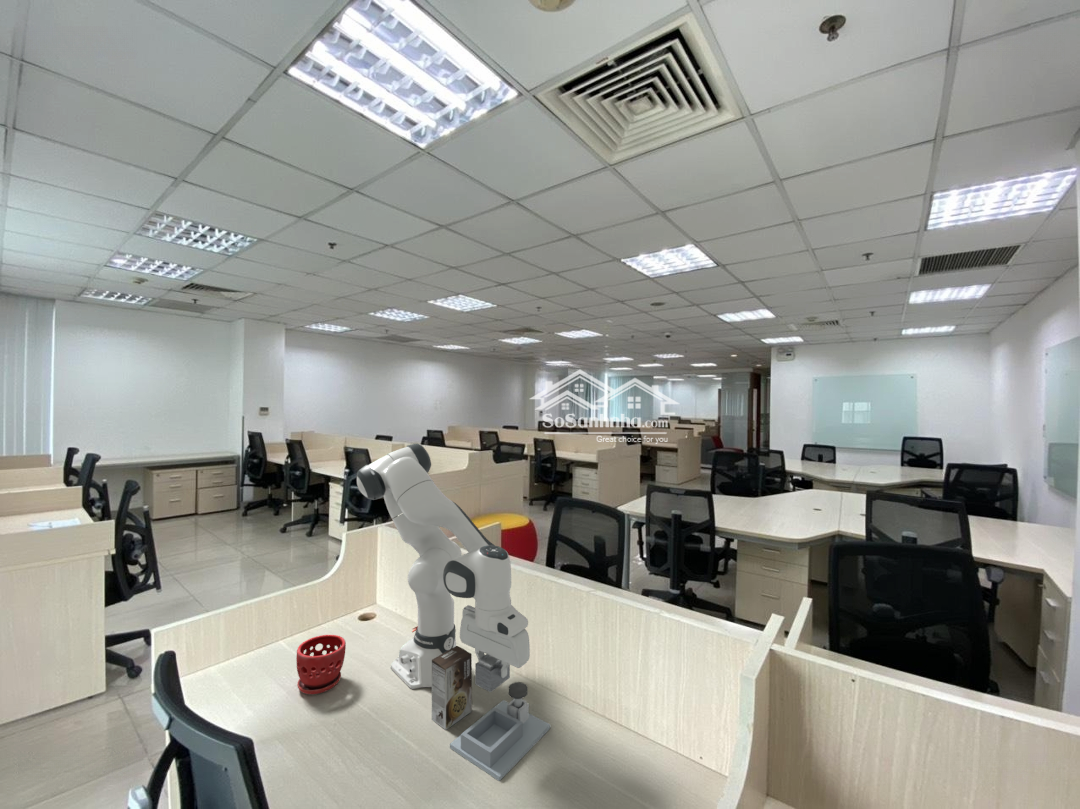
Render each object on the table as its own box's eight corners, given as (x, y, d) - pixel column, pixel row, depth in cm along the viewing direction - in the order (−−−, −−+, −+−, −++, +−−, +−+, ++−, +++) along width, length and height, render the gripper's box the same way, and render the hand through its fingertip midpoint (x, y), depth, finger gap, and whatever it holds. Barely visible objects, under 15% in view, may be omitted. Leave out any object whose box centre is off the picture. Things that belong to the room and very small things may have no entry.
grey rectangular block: (475, 684, 107) (475, 659, 107) (494, 670, 113) (494, 646, 113) (490, 692, 104) (490, 666, 104) (509, 677, 110) (509, 653, 110)
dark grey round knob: (504, 707, 116) (504, 689, 116) (516, 697, 120) (516, 679, 120) (519, 715, 113) (519, 696, 113) (531, 704, 117) (531, 686, 117)
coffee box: (457, 701, 124) (457, 644, 124) (472, 712, 120) (473, 652, 120) (430, 719, 117) (430, 658, 117) (445, 731, 113) (446, 668, 113)
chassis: (449, 747, 108) (450, 727, 108) (503, 703, 124) (503, 685, 124) (499, 781, 98) (499, 758, 98) (550, 728, 114) (550, 709, 114)
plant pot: (309, 705, 122) (309, 662, 122) (288, 687, 130) (288, 646, 130) (353, 682, 133) (354, 642, 133) (331, 666, 141) (331, 628, 141)
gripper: (454, 607, 112) (453, 662, 112) (517, 632, 100) (516, 693, 100) (471, 598, 117) (471, 651, 117) (533, 621, 105) (533, 679, 105)
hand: (492, 671), depth 108 cm, fingers closed on grey rectangular block, 5 cm apart
